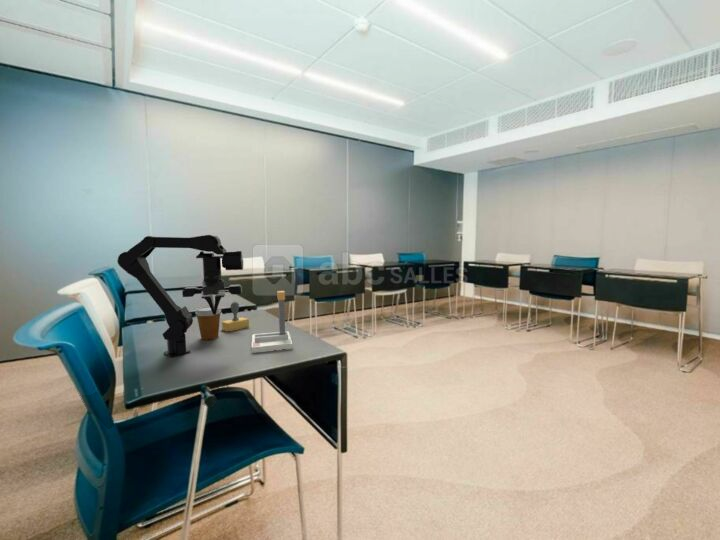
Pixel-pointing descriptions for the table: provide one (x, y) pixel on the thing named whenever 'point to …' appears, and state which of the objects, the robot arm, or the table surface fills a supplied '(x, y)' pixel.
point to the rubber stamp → (235, 320)
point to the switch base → (271, 342)
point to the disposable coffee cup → (208, 322)
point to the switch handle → (281, 311)
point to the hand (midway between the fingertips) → (214, 314)
